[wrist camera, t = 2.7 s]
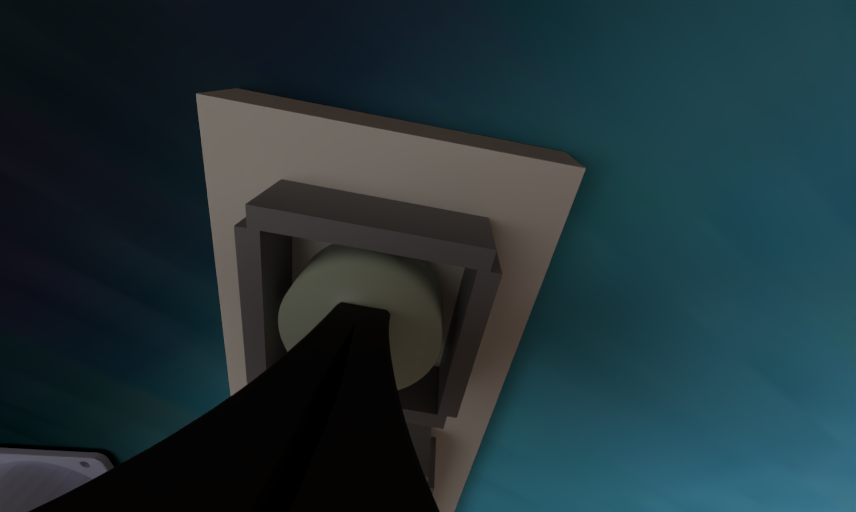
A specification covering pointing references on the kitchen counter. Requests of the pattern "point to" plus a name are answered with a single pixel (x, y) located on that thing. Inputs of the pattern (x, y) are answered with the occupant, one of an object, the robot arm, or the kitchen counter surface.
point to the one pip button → (371, 303)
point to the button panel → (385, 242)
